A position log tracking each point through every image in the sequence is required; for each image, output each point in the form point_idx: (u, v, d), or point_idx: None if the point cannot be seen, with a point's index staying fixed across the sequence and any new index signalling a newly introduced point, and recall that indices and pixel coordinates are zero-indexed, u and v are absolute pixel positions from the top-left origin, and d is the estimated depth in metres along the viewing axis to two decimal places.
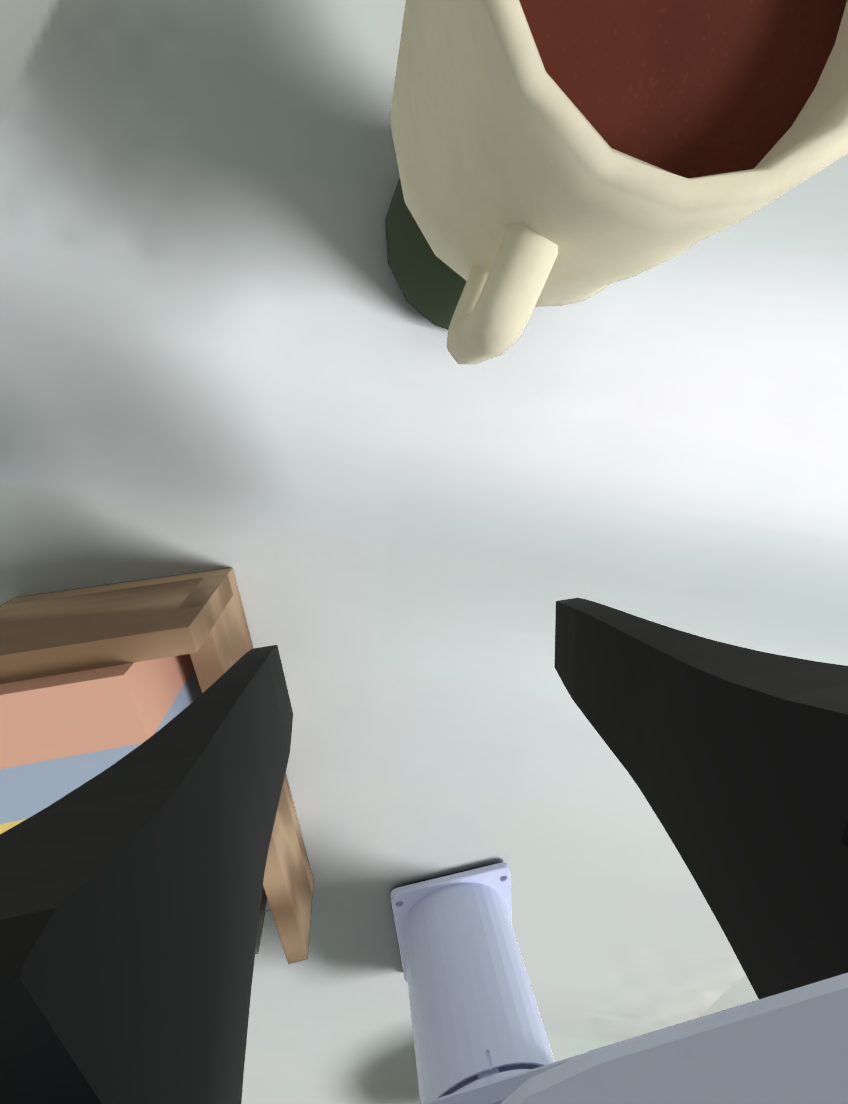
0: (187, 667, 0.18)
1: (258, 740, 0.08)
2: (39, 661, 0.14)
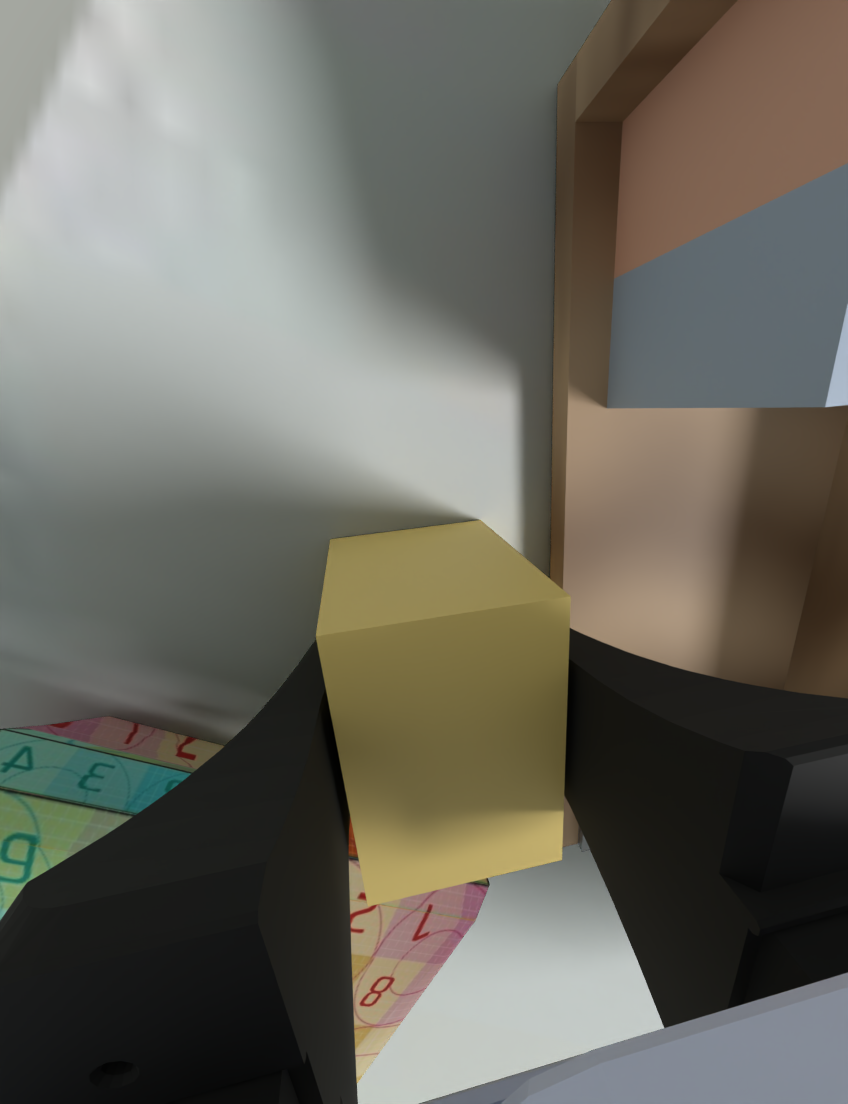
0: None
1: None
2: None
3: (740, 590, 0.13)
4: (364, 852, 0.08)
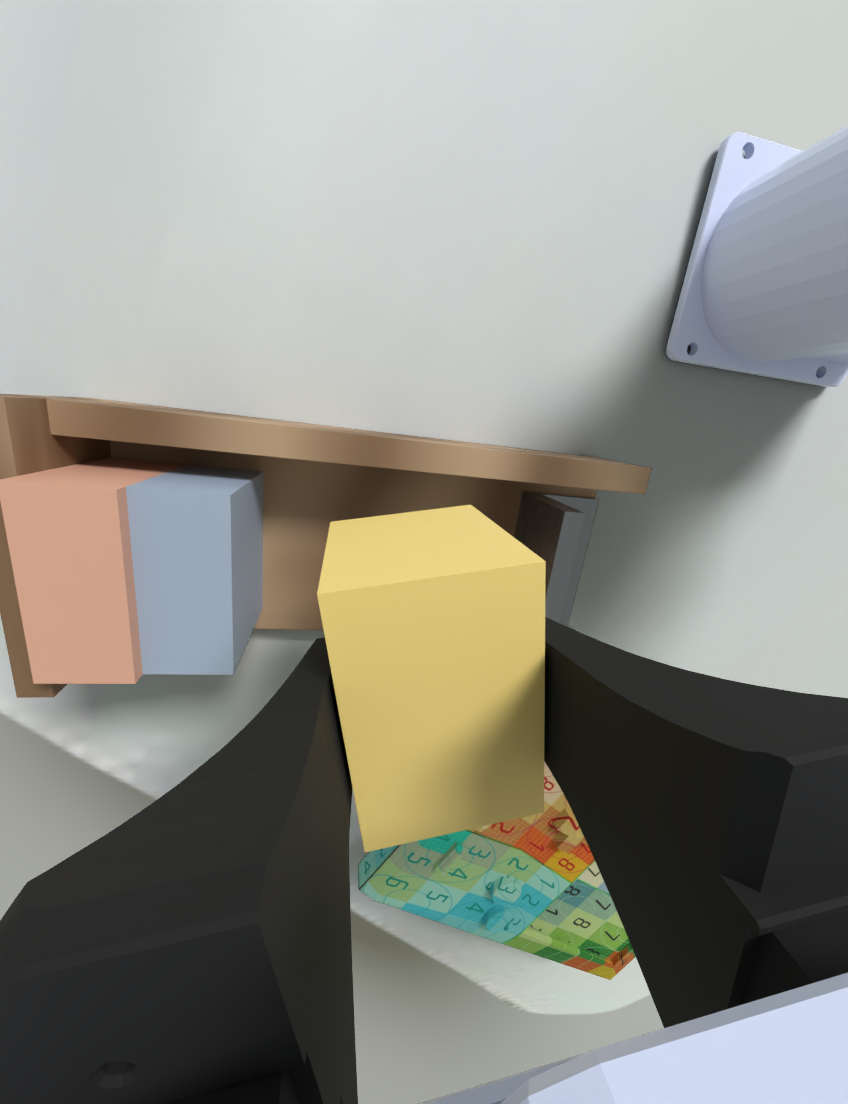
0: (161, 469, 0.15)
1: (338, 725, 0.08)
2: (8, 568, 0.12)
3: None
4: (361, 799, 0.09)
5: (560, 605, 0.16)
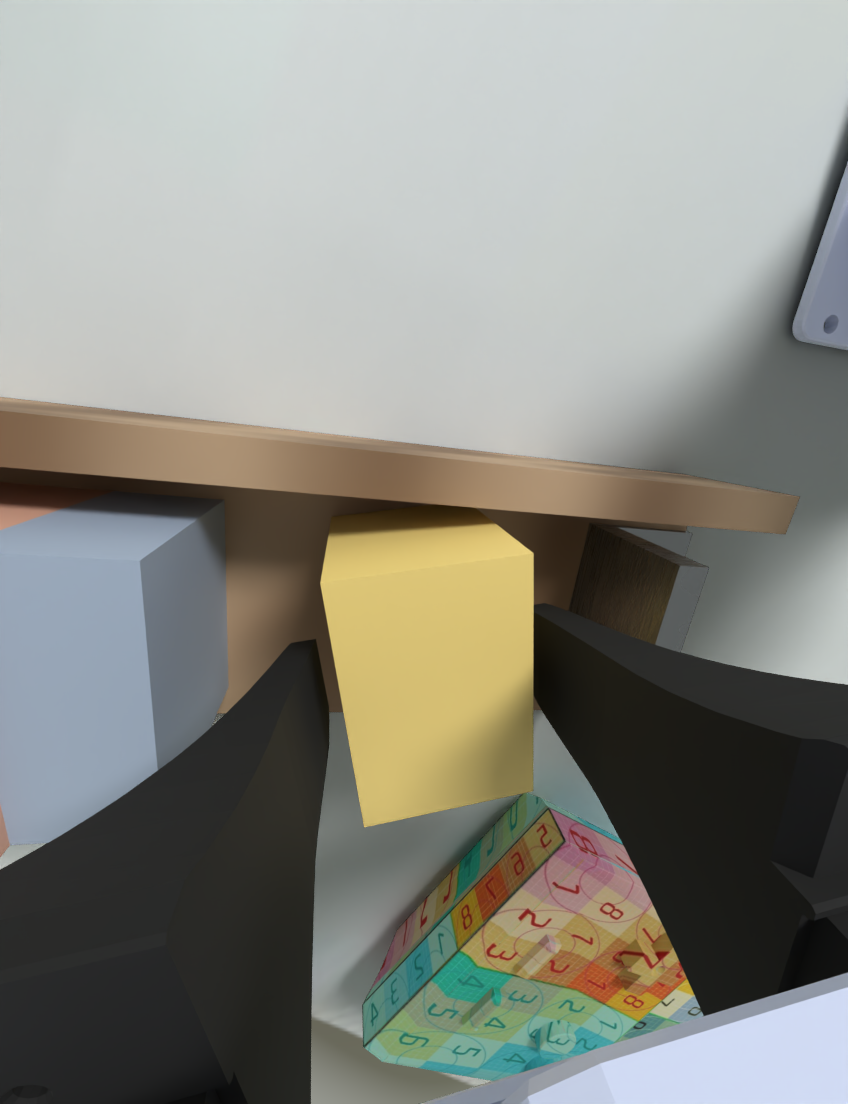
0: (57, 502, 0.09)
1: (306, 731, 0.08)
2: None
3: None
4: (361, 777, 0.09)
5: None
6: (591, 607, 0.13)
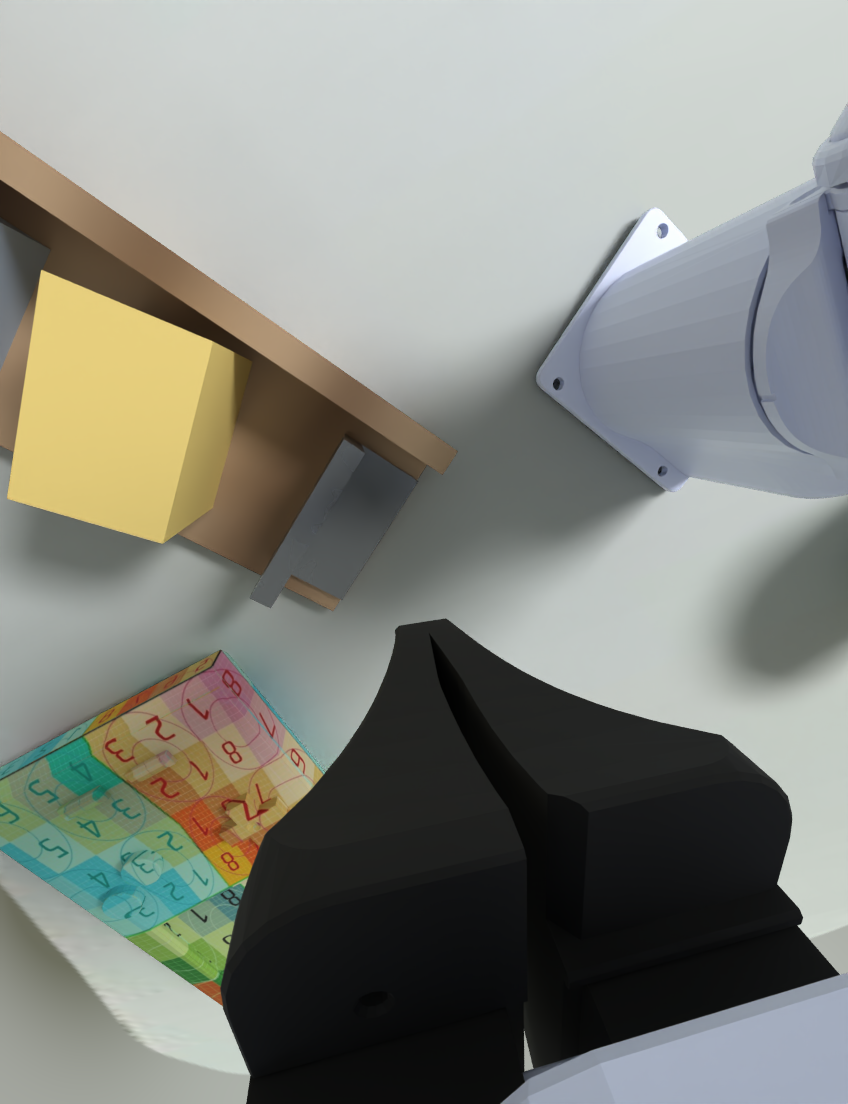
0: None
1: None
2: None
3: None
4: (20, 451, 0.11)
5: (305, 543, 0.14)
6: (312, 488, 0.17)
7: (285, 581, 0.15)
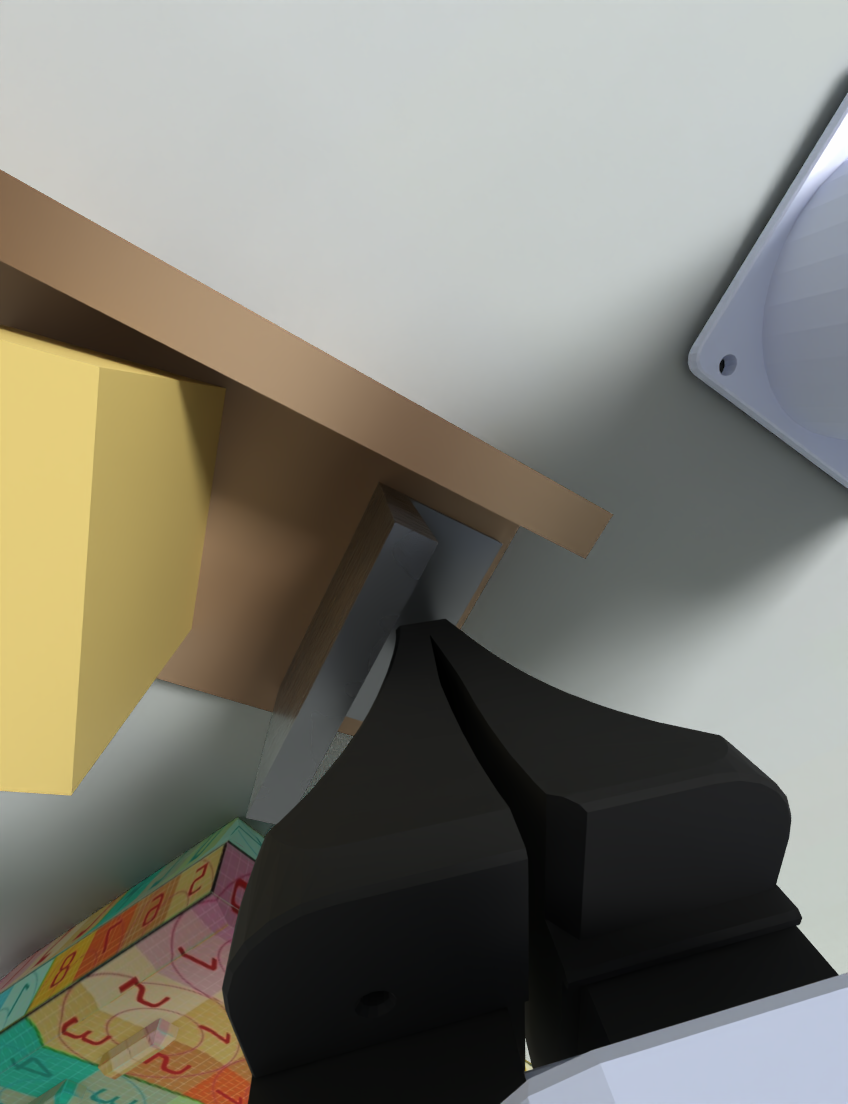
0: None
1: None
2: None
3: None
4: None
5: (338, 716, 0.08)
6: (336, 583, 0.10)
7: (307, 782, 0.08)
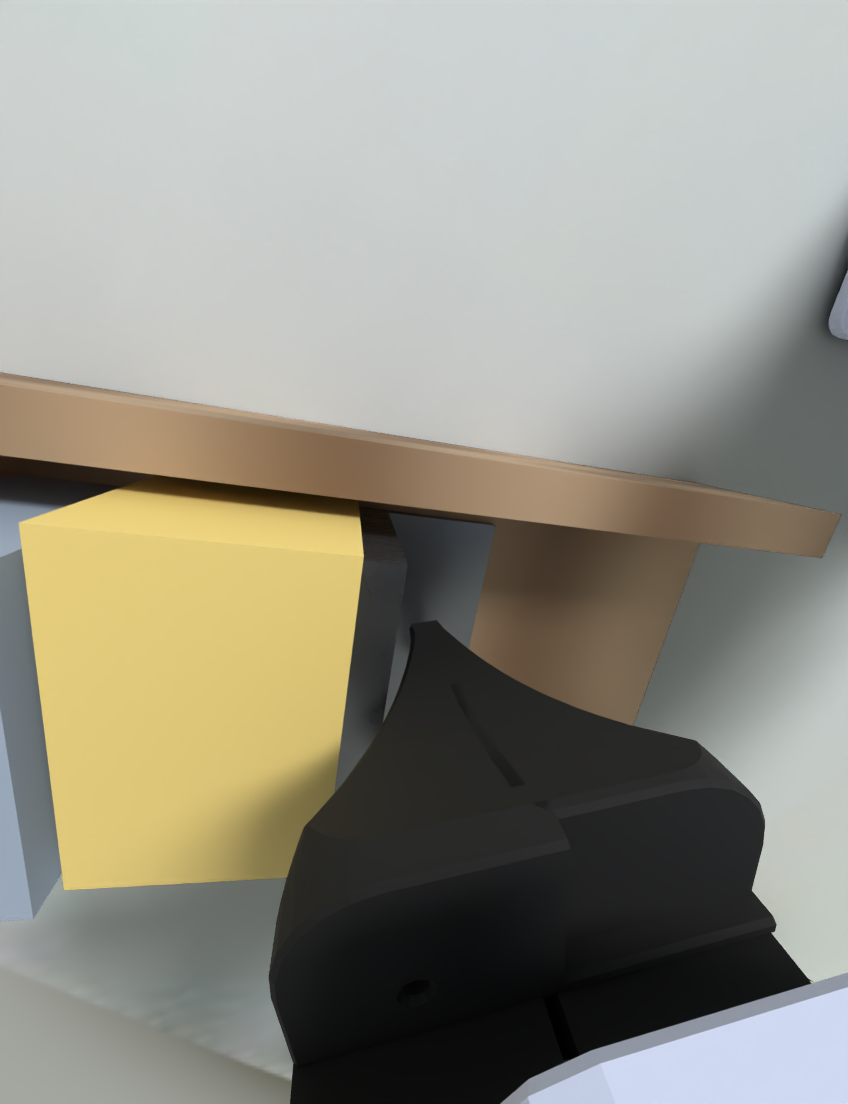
0: None
1: None
2: None
3: None
4: (66, 820, 0.06)
5: None
6: None
7: None
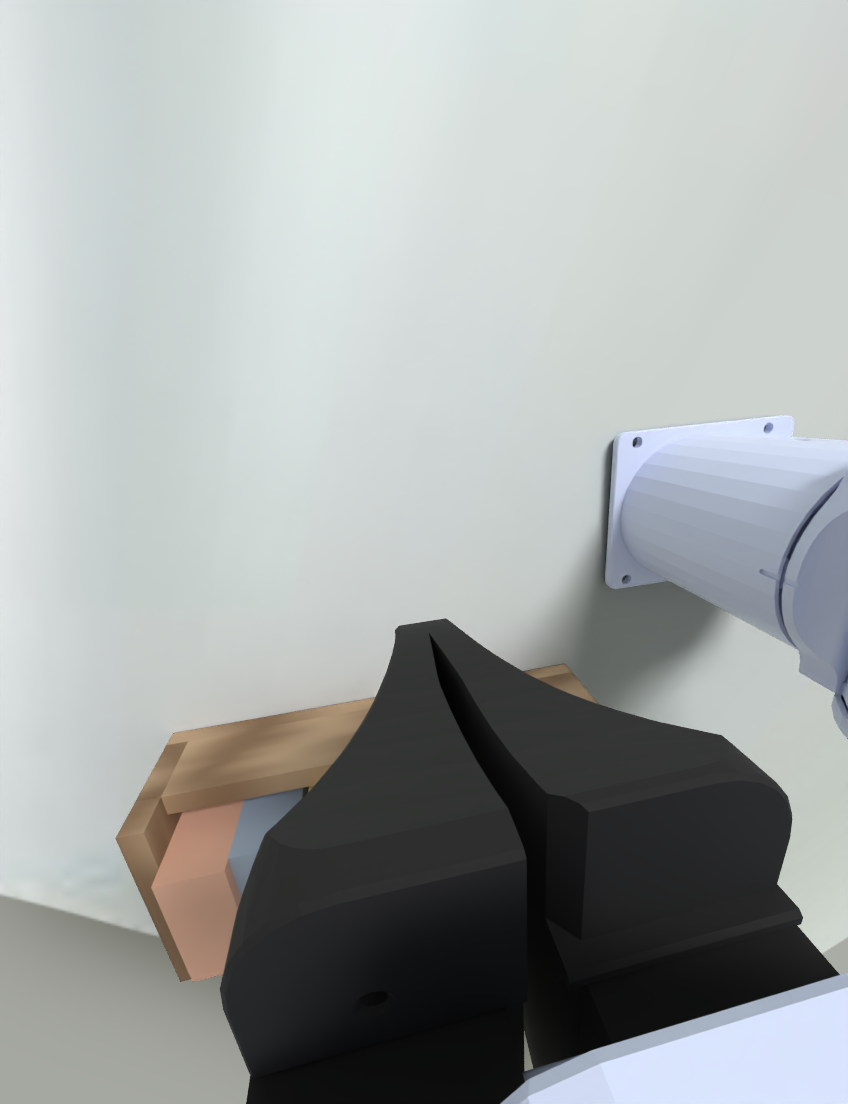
0: None
1: None
2: (162, 916, 0.18)
3: None
4: None
5: None
6: None
7: None
